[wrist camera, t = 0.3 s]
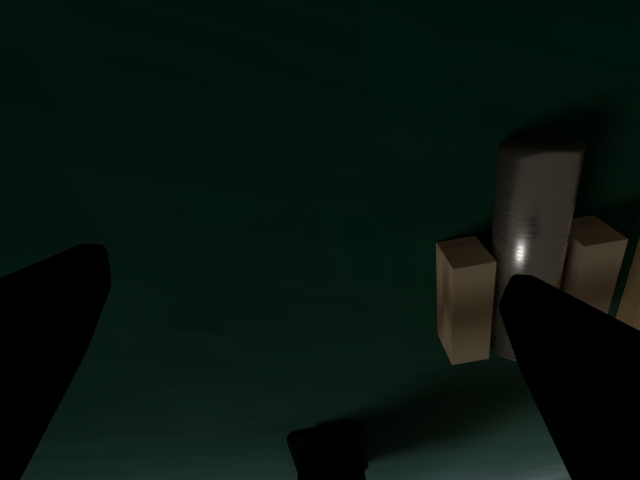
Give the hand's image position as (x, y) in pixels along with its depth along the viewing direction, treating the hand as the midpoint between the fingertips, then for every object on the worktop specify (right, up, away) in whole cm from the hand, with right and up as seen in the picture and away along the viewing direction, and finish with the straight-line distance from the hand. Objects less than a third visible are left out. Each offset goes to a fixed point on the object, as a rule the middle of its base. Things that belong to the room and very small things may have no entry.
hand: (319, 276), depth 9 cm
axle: (+13, 0, +15) cm, 20 cm away
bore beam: (+13, -2, +18) cm, 23 cm away
